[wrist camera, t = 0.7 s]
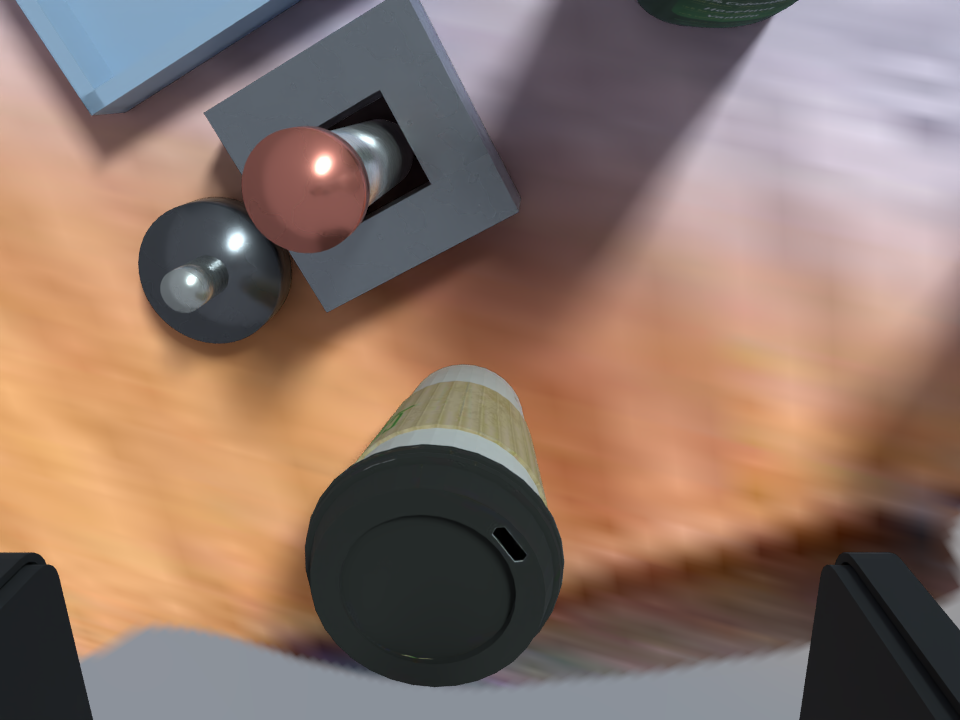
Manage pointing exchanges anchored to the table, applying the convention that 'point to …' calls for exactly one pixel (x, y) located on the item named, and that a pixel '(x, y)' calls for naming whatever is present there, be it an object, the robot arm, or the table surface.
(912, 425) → the table surface
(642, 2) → the coffee jar
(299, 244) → the lock pin
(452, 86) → the block
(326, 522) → the coffee cup
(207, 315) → the dark knobbed lid
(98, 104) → the tray
